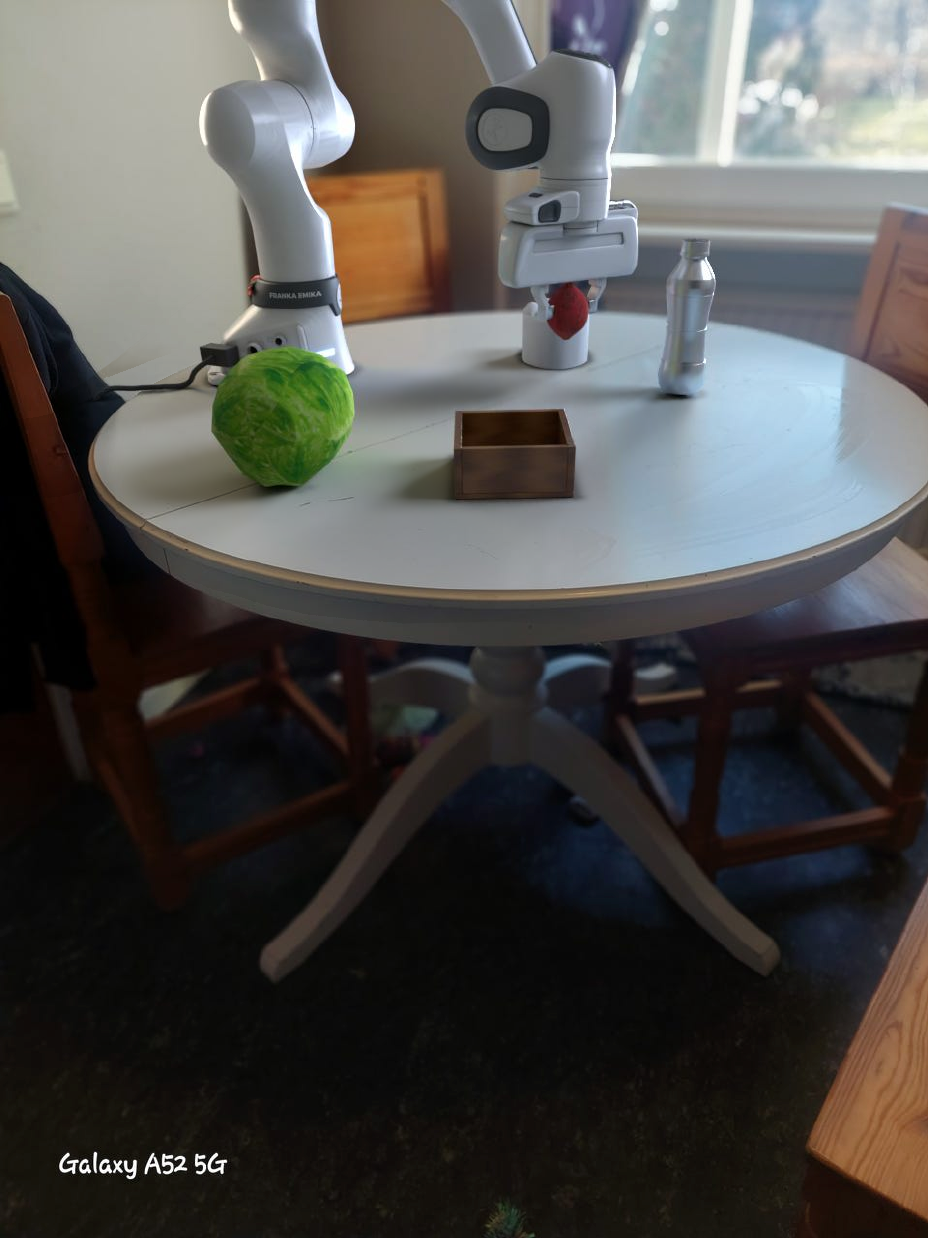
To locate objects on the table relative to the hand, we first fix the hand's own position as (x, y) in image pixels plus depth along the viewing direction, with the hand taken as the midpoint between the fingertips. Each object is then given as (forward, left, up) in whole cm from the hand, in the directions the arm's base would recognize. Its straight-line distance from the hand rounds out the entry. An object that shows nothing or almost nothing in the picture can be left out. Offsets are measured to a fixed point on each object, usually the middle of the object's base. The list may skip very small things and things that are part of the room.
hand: (567, 315), depth 117 cm
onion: (0, 0, -3) cm, 3 cm away
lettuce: (-34, -24, -11) cm, 43 cm away
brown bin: (-9, -29, -11) cm, 32 cm away
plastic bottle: (+16, +1, -11) cm, 20 cm away
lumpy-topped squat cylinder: (0, +21, -11) cm, 24 cm away
